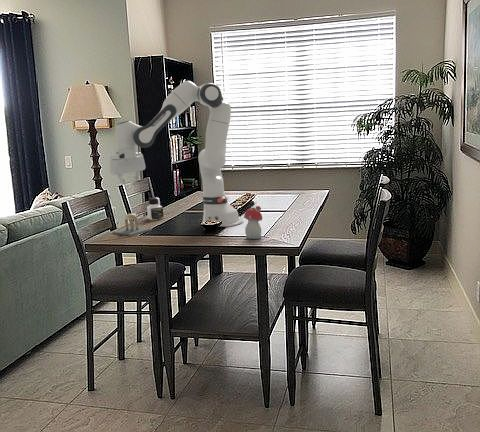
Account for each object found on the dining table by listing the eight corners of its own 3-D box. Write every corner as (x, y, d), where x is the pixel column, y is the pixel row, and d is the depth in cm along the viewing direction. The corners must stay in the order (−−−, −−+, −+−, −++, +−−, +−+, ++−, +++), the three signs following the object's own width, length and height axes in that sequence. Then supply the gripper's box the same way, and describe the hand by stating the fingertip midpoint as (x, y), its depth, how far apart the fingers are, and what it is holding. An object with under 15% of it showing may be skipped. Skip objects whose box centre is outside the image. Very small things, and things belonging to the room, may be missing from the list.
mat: (151, 230, 283) (151, 228, 283) (130, 236, 272) (130, 234, 272) (133, 228, 292) (133, 226, 292) (112, 233, 281) (112, 231, 281)
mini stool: (132, 228, 286) (131, 213, 284) (139, 229, 282) (138, 214, 281) (124, 230, 281) (122, 215, 280) (131, 231, 278) (130, 216, 276)
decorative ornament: (266, 238, 251) (264, 205, 248) (254, 240, 247) (252, 207, 244) (253, 235, 258) (251, 203, 256) (242, 237, 255) (240, 205, 252)
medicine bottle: (151, 220, 309) (149, 199, 307) (147, 218, 316) (145, 198, 313) (163, 218, 313) (162, 197, 310) (159, 217, 319) (157, 196, 317)
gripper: (138, 151, 287) (141, 178, 290) (106, 156, 271) (110, 184, 274) (146, 151, 283) (149, 178, 286) (115, 156, 267) (118, 184, 270)
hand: (129, 181), depth 280 cm, fingers open, 8 cm apart
